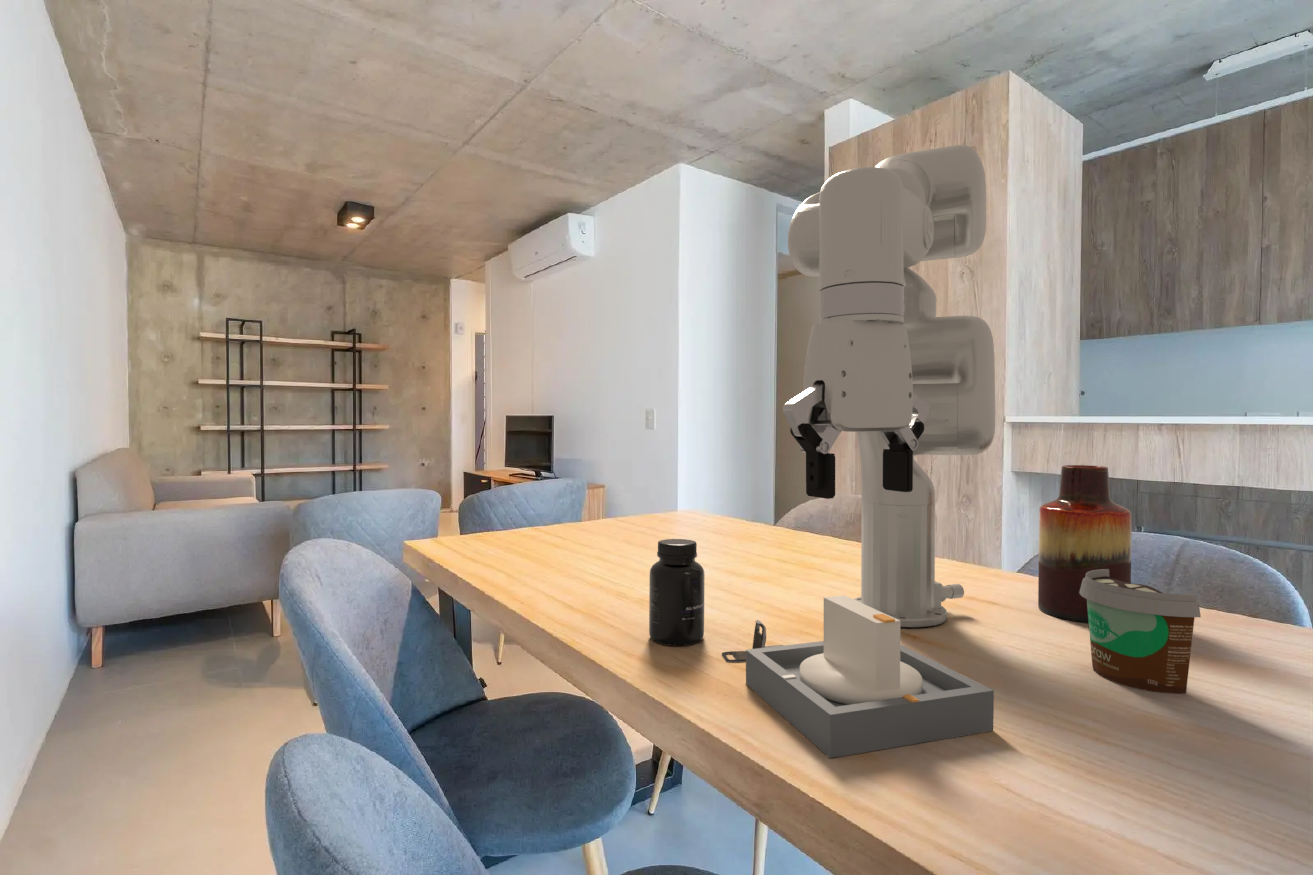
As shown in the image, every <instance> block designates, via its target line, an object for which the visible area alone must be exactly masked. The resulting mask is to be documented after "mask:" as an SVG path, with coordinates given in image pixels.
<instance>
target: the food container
mask: <svg viewBox="0 0 1313 875" xmlns="http://www.w3.org/2000/svg"><path fill="white" fill-rule="evenodd" d="M1079 593H1080V595H1081V596H1082V597H1084V598H1086V599H1087V608H1088V620H1089V623H1088V629H1089V630H1088V631H1089V644H1090V653H1091V656H1090V657H1091V665H1092V670H1093V671H1094V672H1095V673H1096V674H1097V675H1098V676H1099V677H1102V678H1104V679H1106V680H1108V681H1110V682H1113V683H1116V684H1119V685H1122V686H1124V687H1129V688H1133V689H1139V690H1144V691H1147V692H1148V691H1149V692H1154V693H1163V694H1175V695H1177V694H1187V690H1188V689H1187V688H1188V680H1189V671H1190V669H1189V668H1190V660H1191V652H1192V642H1193V636H1194V634H1193V633H1194V628H1195V626H1194V625H1195V624H1194V623H1195V619H1196V618H1202V617H1201V611H1200V610H1201V608H1200V603H1199V601H1197V594H1192V593H1191V594H1180V593H1178V594H1177V593H1164V592H1163V591H1160V590H1158V589H1156V588H1154V587H1152V586H1150V585H1145V584H1141V583H1140V584H1139V583H1132V582H1131V583H1126V582H1123V581H1119V580H1116V579H1113V578H1110V576H1109V569H1100V570H1093V571H1089V572H1087V573H1086V576H1085V578H1083V580H1082V584H1081V588H1080V592H1079Z"/></svg>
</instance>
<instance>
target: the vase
mask: <svg viewBox="0 0 1313 875" xmlns="http://www.w3.org/2000/svg"><path fill="white" fill-rule="evenodd" d="M1059 483H1060V484H1059V490H1058V491H1059V493H1058V497H1057V498H1055V499H1054V500H1051V501H1047V502H1045V503H1043V504H1041V506H1040V507H1039V508H1038V510H1039V512H1038V582H1037V583H1038V590H1037V591H1038V592H1037V593H1038V594H1037V595H1038V599H1037V601H1038V602H1037V604H1038V605H1037V606H1038V609H1039V610H1040V612H1042V613H1044V614H1046V615H1049V616H1052V617H1054V618H1057V619H1062V620H1065V621H1066V620H1067V621H1072V622H1077V623H1083V624H1085V623H1086V624H1089V620H1088V608H1087V599H1086V598H1084V597H1082V596H1081V595H1080V593H1079V592H1080V588H1081V584H1082V580H1083V578H1085V576H1086V573H1087V572H1089V571H1093V570H1100V569H1109V576H1110V578H1113V579H1116V580H1119V581H1123V582H1126V583H1132V581H1131V580H1132V511H1130V510H1129V509H1128V508H1127V507H1124V506H1122V505H1120V504H1119V503H1116V502H1114V501H1113V500H1112V498H1111V491H1110V475H1109V467H1108V466H1103V465H1102V466H1101V465H1083V464H1074V465H1072V464H1071V465H1070V464H1067V465H1062V466H1061V470H1060V481H1059Z"/></svg>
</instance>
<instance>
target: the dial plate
mask: <svg viewBox="0 0 1313 875" xmlns="http://www.w3.org/2000/svg"><path fill="white" fill-rule="evenodd" d="M783 645H784V646H775V647H766V648H757V649H752V648H751V649H750V648H749V649H746V650H745V651H746V662H745V684H746V685H747V686H748V688H750V689H751V690H752V691H753V692H754V693H756V694H757V696H759V697H760V698H761V699H762V700H764V701H765V702H766V703H767V704H768V705H769V706H770V707H771V708H773V710H775V711H776V712H777V713H778V714H779V715H781V716H782V718H784V719H785V720H786V721H787V722H788V723H790V724H791V725H792V726H793V727H794V728H795V729H796V730H798V732H799V733H801V734H802V735H803V736H804V737H806V738H807V739H808V740H809V741H810V742H811V743H812V744H813V745H815V747H817V748H818V749H819V750H820V751H821V752H822V753H823V754H824V755H826V756H827V757H828V758H829V759H835V758H840V757H846V756H852V755H853V756H854V755H857V754H864V753H871V752H876V751H882V750H888V749H894V748H899V747H905V746H911V745H916V744H924V743H928V742H929V743H930V742H934V741H941V740H945V739H951V738H958V737H963V736H969V735H975V734H981V733H987V732H991V731H994V709H995V708H994V707H995V706H994V704H995V703H994V700H995V698H994V697H995V693H994V691H995V690H994V689H991V688H989V687H988V686H986V685H983V684H982V683H980V682H978V681H975V680H973V679H971V678H969V677H968V676H966V675H963V674H961V673H960V672H957V671H955V670H953V669H951V668H949V667H947V666H945V665H943V664H941V663H939V662H937V661H935V660H933V659H931V658H929V657H927V656H925V655H923V654H921V653H919V652H917V651H916V650H913V649H911V648H908V647H906V645H905V646H904V645H902V644H901V643H900V661H901V662H903V663H906V664H908V665H910V666H911V667H913V668H914V669H916V670H917V671H918V672H919V673H920V675H921V676H922V693H921V694H920V695H913V696H912V695H910V694H907V695H903V697H899V698H892V699H885V700H879V701H872V702H865V703H858V704H845V703H840V702H836V701H833V700H829V699H826V698H824V697H821V696H820V695H819V694H817V693H816V692H815V691H813V690H812V689H811V688H809V687H808V686H807V685H805V684H804V683H803V682H801V681H800V664H801V663H802V662H803V661H804V660H805V659H807V658H809V657H811V656H814V655H817V654H822V653H824V640H821V641H820V640H819V641H814V642H813V641H812V642H805V643H804V642H802V643H796V644H795V643H794V644H793V643H792V644H786V645H785V644H783Z"/></svg>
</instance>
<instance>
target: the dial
mask: <svg viewBox="0 0 1313 875" xmlns="http://www.w3.org/2000/svg"><path fill="white" fill-rule="evenodd" d="M854 599H855V598H852V597H849V596H847V595H835V596H834V595H833V596H824V597H823V641H824V653H822V654H817V655H814V656H811V657H809V658H807V659H805V660H804V661H803V662H802V663H801V664H800V681H801V682H803V683H804V684H805V685H807V686H808V687H809V688H811V689H812V690H813V691H815V692H816V693H817V694H819V695H820V696H821V697H824V698H826V699H829V700H833V701H836V702H840V703H845V704H858V703H865V702H872V701H879V700H885V699H892V698H899V697H903V695H907V694H910V695H912V696H913V695H920V694H921V693H922V676H921V675H920V673H919V672H918V671H917V670H916V669H914V668H913V667H911V666H910V665H908V664H906V663H903V662H901V661H900V644H901V627H900V622H901V621H900V620H898V619H896V618H893V617H891V616H889V615H887V614H885V613H882V612H880V611H878V610H876V609H874V608H871V607H869V606H867V605H865V604H863V603H860V602H858V601H856V600H854Z"/></svg>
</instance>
